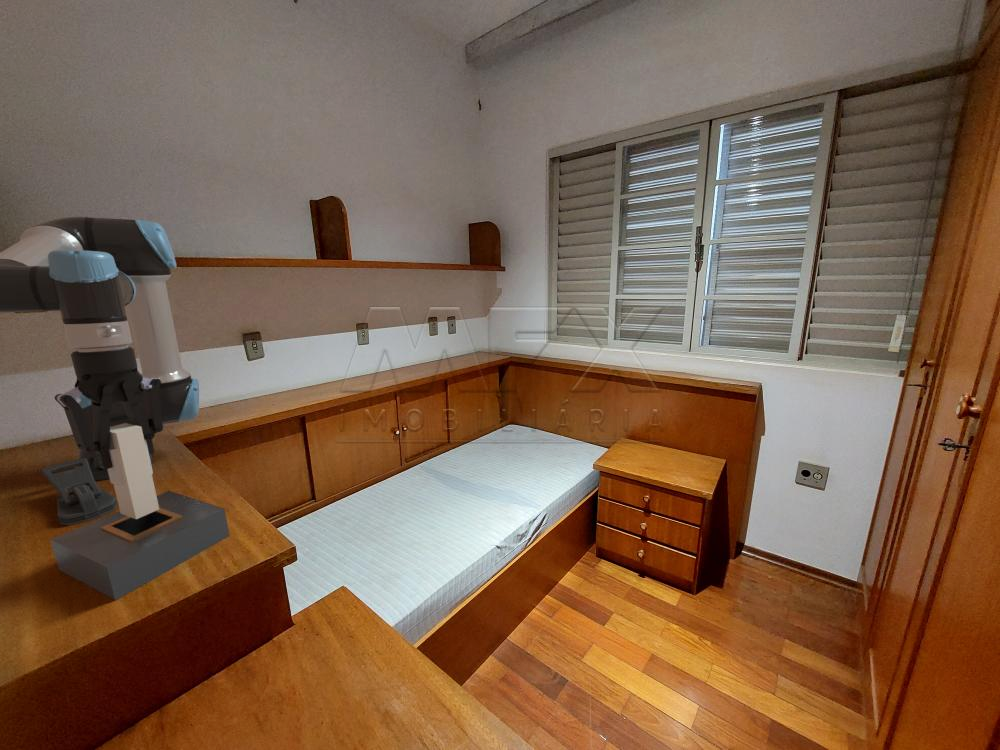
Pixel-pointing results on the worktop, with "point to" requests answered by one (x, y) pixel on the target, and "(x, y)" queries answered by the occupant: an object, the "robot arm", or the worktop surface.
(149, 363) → the robot arm
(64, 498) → the zipper slider
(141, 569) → the block
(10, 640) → the worktop surface
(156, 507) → the white rectangular bar
